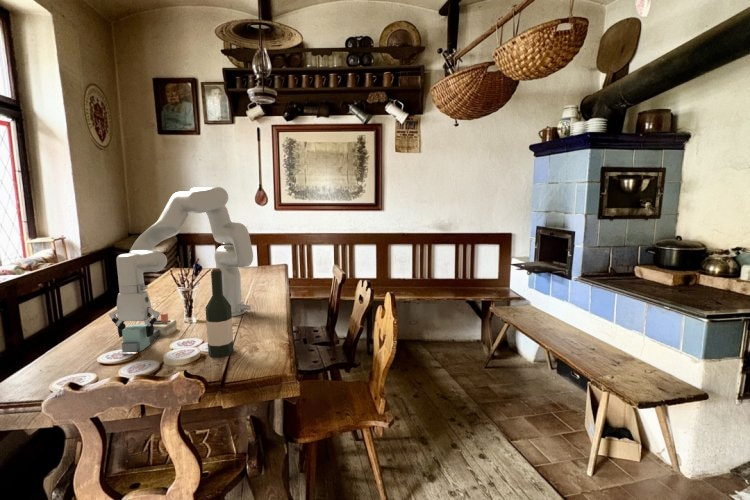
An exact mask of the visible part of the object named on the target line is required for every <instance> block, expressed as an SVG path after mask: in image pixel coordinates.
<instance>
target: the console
mask: <svg viewBox="0 0 750 500" xmlns="http://www.w3.org/2000/svg"><path fill="white" fill-rule="evenodd" d="M144 324H146V323H145V322H144ZM177 326H178V325H177V319H168V322H161V319H157V321H156V322H155V323H154V324H153V328H154V329H159V332H160V337H168V336H170V335H171V334H173V333H174V332H175V331H177ZM173 331H174V332H173ZM170 333H171V334H170ZM167 335H168V336H167Z"/></svg>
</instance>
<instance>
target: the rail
mask: <svg viewBox="0 0 750 500" xmlns="http://www.w3.org/2000/svg"><path fill="white" fill-rule="evenodd" d="M158 337H159V338H160V337H161V336H160V332H159V329H154V333H153V335H151V336H150V338H149V342H150V344H152V343H153V342H154V340H155V339H156V340H157V339H159V338H158ZM156 340H155V341H156ZM151 342H152V343H151ZM121 351H122V352H139V353H140V351H139V346H138V342H124V343H123V342H122V343H121Z"/></svg>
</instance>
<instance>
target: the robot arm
mask: <svg viewBox="0 0 750 500" xmlns="http://www.w3.org/2000/svg"><path fill="white" fill-rule="evenodd" d="M228 201H229V195H228V192H227V190H226V189H225V188H223V187H221V186H195V187H192V188H190V189H189V191H187V190H185V191H184V190H183V191H177V192H175V193H173V194H172V195H171V196H170V198H169V200H168V201H167V203H166V205H165V207H164V209H163V210H162V212H161V214H160V216H159V218H158V219H157V221H156V222H155V223H153V224H152V225H151V226H149V227H148V228H147V229H146V230H145V231H143V232H142V233H141V234H140V235H139V236H138V237H137V239H136V240H135V241H134V242H133V245H132V246H131V247H130V249H129V252H128V253H121V254H119V255H117V256H116V268H117V269H116V270H117V277H118V279H117V280H118V288H119V289H118V290H119V293H118V294H117V298H116V309H115V310H112V312H109V313H108V316H109V318H110V319H111V321H112V322H113V323H114V325H115V327H117V334H118V337H119V338H123V336H122V330H123V329H125V328H127V327H126V323H125V322H143V323H144V324H145V323H146V324H147V326H146V335H147V337H150V336H151V335H153V333H154V328H153V324H154V323H155V322H156V321H157V320H159V317H160V316H161V312H159V311H157V310H155V309H152V304H151V303H152V302H151V298H150V296H149V293H148V291H147V290H148V289H149V286H148V285H145V281H144V273H151V272H154V273H155V272H159V271H161V270H162V269H164V268H166V266H167V264H168V257H167V256H166V254H164V253H163V252H162V251H159V250H153V249H155V247H156V246H157V245H159V244H160V243H161V242H163V241H165V240H168V239H170V238H172V237H175V236H176V235H178V234H179V233H180V231H181V230H182V228H183V226H184V224H185V222H186V221H187V219H188V217H189V215H190V214H202V213H206V216H207V218H208V221H209V225H210V230H211V233H212V237H213V239H214V241H215V242H216V243H218V244H222V245H220V246H218V247H217V248H216V249H215V252H214V261H215V264H216V268H220V270H221V271H222V287H223V296H224V297H225V298H226V300H227V301H228V302H229V304H230V305H231V312H232V317H237V316H241V315H243V314H245V313H246V312H247V311H248V310H249V311H251V309H252V306H251V304H245V303H244V302H245V301H242V300H243V299H242V279H241V278H242V277H241V272H240V269H239V268H248V267H250V266H251V265H252V263H253V260H254V252H253V247H252V242H251V238H250V233H249V230H248V228H247V226H245V224H243V223H240V222H235V221H233V222H232V220H231V218H230V214H229V211H228V208H227V206H226V205H227V203H228ZM246 310H247V311H246ZM152 317H153V318H152Z"/></svg>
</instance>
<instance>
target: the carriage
mask: <svg viewBox="0 0 750 500" xmlns="http://www.w3.org/2000/svg"><path fill="white" fill-rule="evenodd" d="M146 326H147V324H145V323H143V324H142V323H140V324H139V323H137V324H136V323H135V324H133V323H132V324H130V325H128V326H127V327H126V328H125V329H123V330H122V343H124V342H138V346H139V352H141V351H143V350H145V349H146V348H147V347H148V346H150V345H151V343H150V342H149V338H150V337H147V335H146Z"/></svg>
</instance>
